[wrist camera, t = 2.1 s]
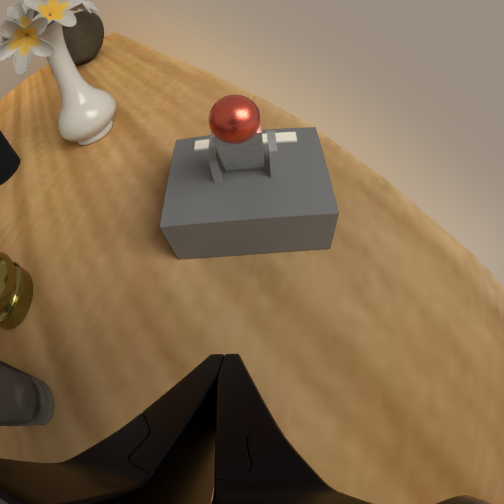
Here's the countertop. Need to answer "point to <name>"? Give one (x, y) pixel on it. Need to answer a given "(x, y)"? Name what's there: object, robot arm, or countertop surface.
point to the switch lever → (237, 132)
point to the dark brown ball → (84, 37)
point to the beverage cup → (23, 398)
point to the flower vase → (58, 64)
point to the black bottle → (7, 160)
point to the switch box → (249, 199)
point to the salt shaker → (13, 292)
